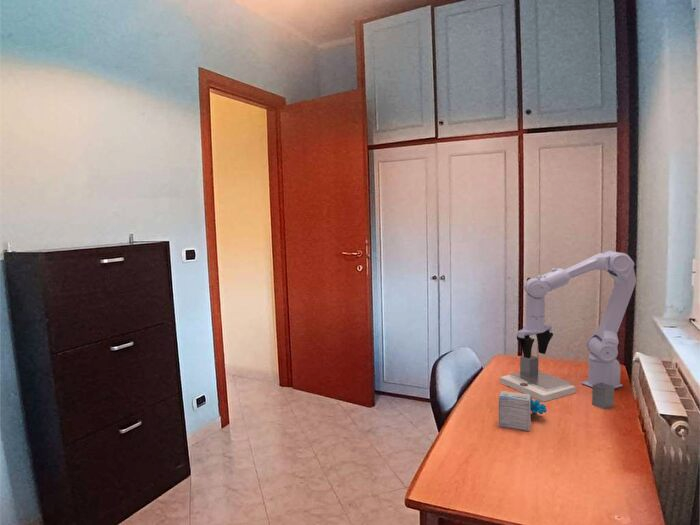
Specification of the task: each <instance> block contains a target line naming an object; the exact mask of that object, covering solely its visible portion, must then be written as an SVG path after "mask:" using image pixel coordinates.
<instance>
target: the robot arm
mask: <svg viewBox="0 0 700 525" xmlns="http://www.w3.org/2000/svg"><path fill="white" fill-rule="evenodd" d="M634 267H635V262H634V260H633V259H632V258H631V257H630V255H628V254H627V253H625V252H618V251H614V250H610V249H608V250H605V251H603V252H600V253H599V252H598V253H596V254H594V255H593V256H591V257H588V258H586V259H584V260H582V261H580V262H578V263H575V264H574V265H572V266H569V267H567V268H565V269H564V268H562V267H558V268H556V267H553V268H551V269H550V270H551V271H549V272H546V273H544V274H542V275H541V274H538V275H537V278H536V277H532V278H529V279H527V281H526V282H525V284H524V286H523V290H524V291H525V293H526V298H525V299H526V301H525V325H523V328H522V329H520V330H517V334H516V340H517V341H518V343H519V345H520V347H521V350H522V356H524V357H525V358H530V357H531V355H532V348H533V345H534V342H535V338H532V337H531V336H533V335H535V336H536V339H537V340H536V341H537V350H538V353H539V354H541V355H545V354H546V353H547V349H548V346H549V344H550V341H551V339H553V337H554V333H553V332H552V324H551V325H550V324H545V323H546V322H545V321H546V320H545V316H546V314H545V312H546V310H545V309H546V303H545V296H546V295H547V294H548V293H550V292H552V291H554V290H557V289H559V288H562V287H564V286H566V285H568V284H569V282H570V280H571V279H573V278H575V277H579V276H581V275H584V274H587V273H589V272H591V271H595V270H599V271H606V272H607V273H608V274H609V275H610V276H611V278H612V279H613V281H614V282H615V283H614V286H613V288H612V290H611V294H610V295H609V296H610V297H609V299H608V301H607V305H606V307H605V310H604V313H603V315H602V319H601V321H600V324H599V326H598V328H596V329H595V330H594V331H593V332H592V333H593V334H592V335H591V336H590V337H589V338H588V340H587V341H586V348H587V351H589V355H588V374H587V375H588V376H587V378H588V379H587V380H585V381H582V382H581V383H582V385H585V386H587V387H590V388H593V385H594V384H598V383H601V382H602V383H605V384H608V385H611V386H613V387H614V389H618V388H621V387H623V386H624V385H623V384H622V383H621V364H620V362H619V359H617V357H618V355H619V351H618V345H619V337H618V332H619V329H620V328H621V327H620V326H621V324H622V321H623V318H624V316H625V313H626V311H627V309H628V305H629V303H630V300H631V297H632V294H633V292H634V289H635V286H636V283H637V278H636V277H637V276H636V274H635V273H636V272H635V268H634Z"/></svg>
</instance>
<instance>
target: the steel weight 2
mask: <svg viewBox="0 0 700 525" xmlns="http://www.w3.org/2000/svg"><path fill="white" fill-rule="evenodd" d="M591 391H592V397H591V398H592V400H591V404H592V406H596V407H598V408H600V409H603V410H607V409H611V408H614V406H615V388H614V387H613V386H611V385H608V384H605V383H602V382H601V383H598V384H594V385H593V387H592V390H591Z"/></svg>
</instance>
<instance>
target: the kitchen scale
mask: <svg viewBox="0 0 700 525" xmlns="http://www.w3.org/2000/svg"><path fill="white" fill-rule="evenodd" d="M499 383H500V384H502V385H504V386H506V387H508V386H509V387H508V388H510V389H513V390H515V389H516V390H515V391H518V392H519V393H522V394H529V395H531V397H532V399H533V398H534V399H535V400H539V401H540V402H543V403H544V402H549V401H552V400H556V399H559V398H562V397H567V396H569V395H573V394H576V385H575V386H574V385H573V384H572V382H570V381H568V380H565V379H561V377H560V378H559V377H557V376H554V375H551V374H548V373H546V372H542V371H541V370H538V375H537V376H533V377H527V376H525V375H522V374H520V371H519V372H515V373H511V374H507V375H503V376H500V377H499Z"/></svg>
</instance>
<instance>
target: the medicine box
mask: <svg viewBox="0 0 700 525" xmlns="http://www.w3.org/2000/svg"><path fill="white" fill-rule="evenodd" d="M531 414H532V411H531V395H529V394H524V393H522V392H513V391H505V390H500V391H499V395H498V427H502V428H508V429H513V430H519V431H526V432H530V429H531Z"/></svg>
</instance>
